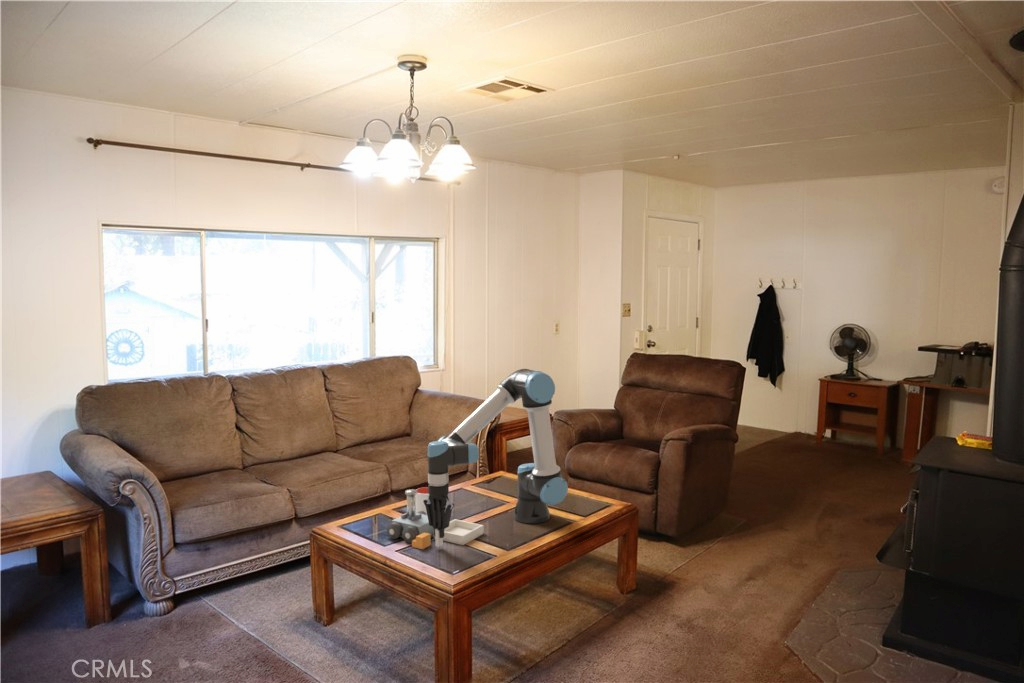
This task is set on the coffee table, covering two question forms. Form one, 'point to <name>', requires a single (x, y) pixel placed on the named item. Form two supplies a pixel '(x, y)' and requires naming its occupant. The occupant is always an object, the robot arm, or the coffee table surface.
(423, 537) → the block
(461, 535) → the tray
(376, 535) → the coffee table surface
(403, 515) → the trolley
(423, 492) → the cup
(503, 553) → the coffee table surface
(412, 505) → the pin
